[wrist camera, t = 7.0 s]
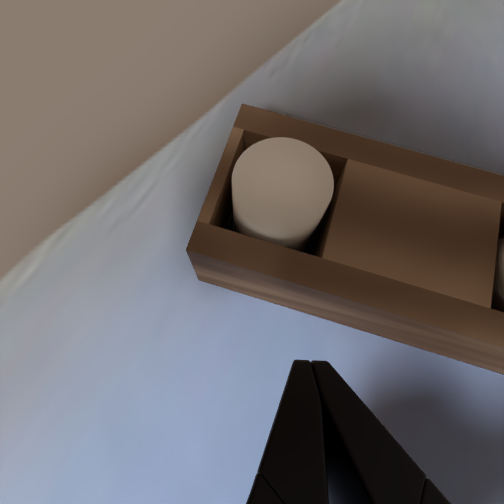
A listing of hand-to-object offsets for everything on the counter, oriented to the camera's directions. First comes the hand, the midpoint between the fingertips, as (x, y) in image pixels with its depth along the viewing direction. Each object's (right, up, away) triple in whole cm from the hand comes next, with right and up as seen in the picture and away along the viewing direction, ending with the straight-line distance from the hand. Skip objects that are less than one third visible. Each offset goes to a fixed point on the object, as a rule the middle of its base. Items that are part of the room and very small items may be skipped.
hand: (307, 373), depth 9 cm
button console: (+7, +2, +15) cm, 17 cm away
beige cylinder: (0, +5, +15) cm, 16 cm away
